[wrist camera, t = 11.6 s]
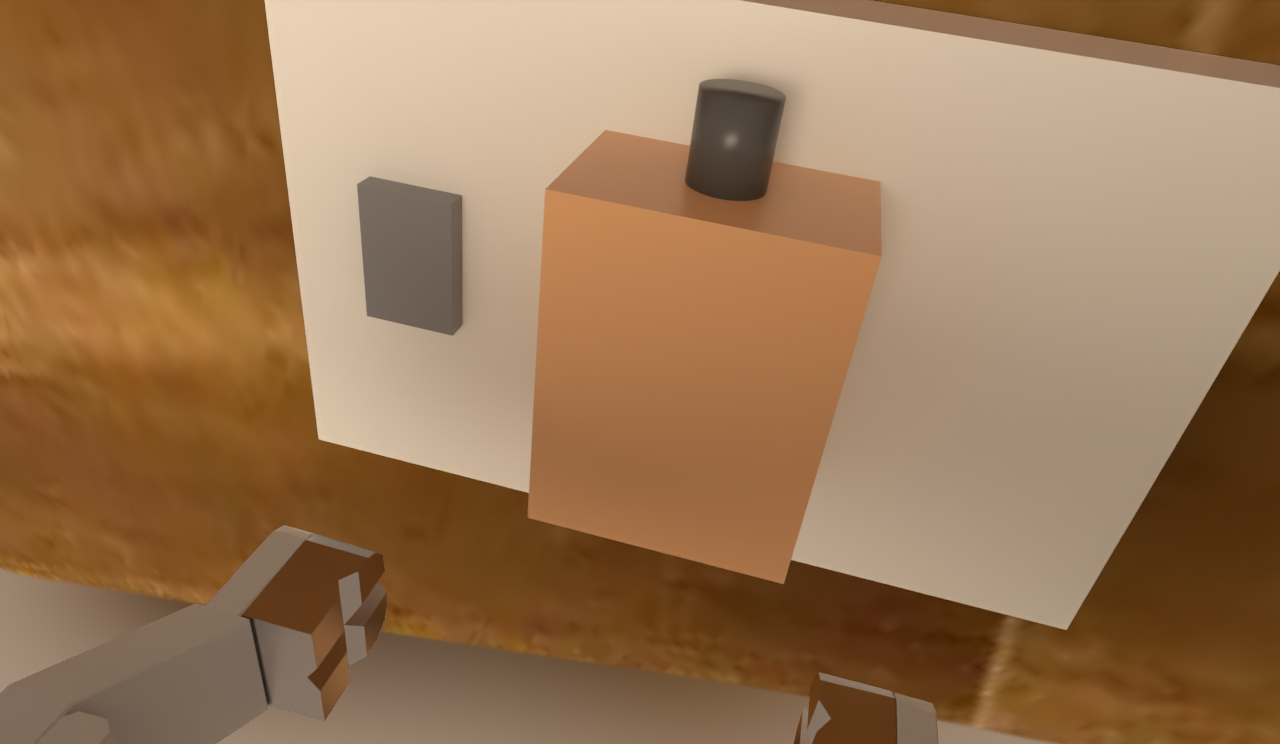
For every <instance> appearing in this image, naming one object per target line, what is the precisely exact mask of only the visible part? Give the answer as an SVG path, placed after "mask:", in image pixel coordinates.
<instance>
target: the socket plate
mask: <svg viewBox="0 0 1280 744" xmlns="http://www.w3.org/2000/svg"><path fill="white" fill-rule="evenodd" d="M265 8H266V16H267V24H268V32H269V40H270V48H271V56H272V65H273V73H274V81H275V89H276V97H277V105H278V113H279V121H280V129H281V138H282V146H283V154H284V162H285V170H286V178H287V186H288V194H289V202H290V211H291V219H292V227H293V235H294V243H295V251H296V259H297V267H298V275H299V284H300V292H301V300H302V308H303V316H304V324H305V332H306V340H307V348H308V356H309V365H310V373H311V381H312V389H313V397H314V405H315V413H316V421H317V429H318V438H319V439H320V440H324V441H328V442H331V443H335V444H339V445H343V446H347V447H351V448H355V449H359V450H363V451H367V452H371V453H375V454H378V455H382V456H386V457H390V458H394V459H398V460H402V461H406V462H410V463H414V464H418V465H422V466H425V467H429V468H433V469H437V470H441V471H445V472H449V473H453V474H457V475H461V476H465V477H469V478H473V479H476V480H480V481H484V482H488V483H492V484H496V485H500V486H504V487H508V488H512V489H516V490H520V491H523V492H527V493H529V482H530V463H531V445H532V426H533V408H534V389H535V370H536V352H537V333H538V315H539V296H540V278H541V259H542V240H543V222H544V203H545V189H546V188H547V187H548V186H549V185H550V184H551V183H552V182H553V181H554V180H555V179H556V178H557V177H558V176H559V175H560V174H561V173H562V172H563V171H564V170H565V169H566V168H567V167H568V166H569V165H570V164H571V163H572V162H573V161H574V160H575V159H576V158H577V157H578V156H579V155H580V154H581V153H582V152H583V151H584V150H585V149H586V148H587V147H588V146H589V145H590V144H591V143H592V142H593V141H594V140H595V139H597V138H598V137H599V136H600V135H601V134H602V133H603V132H604V131H605V130H609V131H615V132H620V133H625V134H631V135H636V136H641V137H646V138H652V139H657V140H662V141H668V142H673V143H678V144H684V145H689V146H690V143H691V136H692V129H693V122H694V116H695V109H696V102H697V96H698V89H699V84H700V83H701V82H702V81H705V80H710V79H734V80H743V81H749V82H754V83H758V84H762V85H766V86H769V87H772V88H774V89H777V90H779V91H780V92H782V93H783V94H784V95H785V96H786V100H785V105H784V110H783V115H782V120H781V125H780V129H779V134H778V139H777V144H776V149H775V154H774V159H773V161H774V162H779V163H784V164H790V165H795V166H800V167H805V168H811V169H816V170H821V171H827V172H832V173H837V174H843V175H848V176H853V177H858V178H864V179H869V180H874V181H880V188H881V243H882V258H881V261H880V264H879V268H878V271H877V274H876V278H875V281H874V284H873V288H872V291H871V294H870V298H869V301H868V304H867V308H866V311H865V314H864V318H863V321H862V324H861V328H860V331H859V334H858V338H857V341H856V344H855V348H854V351H853V354H852V358H851V361H850V364H849V368H848V371H847V374H846V378H845V381H844V384H843V388H842V391H841V394H840V398H839V401H838V404H837V408H836V411H835V414H834V418H833V421H832V424H831V428H830V431H829V434H828V438H827V441H826V445H825V448H824V451H823V455H822V458H821V461H820V465H819V468H818V471H817V475H816V478H815V481H814V485H813V488H812V491H811V495H810V498H809V501H808V505H807V508H806V511H805V515H804V518H803V521H802V525H801V528H800V531H799V535H798V538H797V541H796V545H795V548H794V551H793V555H792V558H791V560H794V561H798V562H802V563H806V564H810V565H813V566H817V567H821V568H825V569H829V570H833V571H837V572H841V573H845V574H849V575H853V576H857V577H860V578H864V579H868V580H872V581H876V582H880V583H884V584H888V585H892V586H896V587H900V588H904V589H908V590H911V591H915V592H919V593H923V594H927V595H931V596H935V597H939V598H943V599H947V600H951V601H955V602H958V603H962V604H966V605H970V606H974V607H978V608H982V609H986V610H990V611H994V612H998V613H1002V614H1005V615H1009V616H1013V617H1017V618H1021V619H1025V620H1029V621H1033V622H1037V623H1041V624H1045V625H1049V626H1053V627H1056V628H1060V629H1064V630H1067V628H1068V627H1069V625H1070V623H1071V622H1072V620H1073V618H1074V617H1075V615H1076V613H1077V611H1078V610H1079V608H1080V606H1081V605H1082V603H1083V601H1084V600H1085V598H1086V596H1087V595H1088V593H1089V591H1090V590H1091V588H1092V586H1093V584H1094V583H1095V581H1096V579H1097V578H1098V576H1099V574H1100V573H1101V571H1102V569H1103V568H1104V566H1105V564H1106V563H1107V561H1108V559H1109V558H1110V556H1111V554H1112V552H1113V551H1114V549H1115V547H1116V546H1117V544H1118V542H1119V541H1120V539H1121V537H1122V536H1123V534H1124V532H1125V531H1126V529H1127V527H1128V525H1129V524H1130V522H1131V520H1132V519H1133V517H1134V515H1135V514H1136V512H1137V510H1138V509H1139V507H1140V505H1141V504H1142V502H1143V500H1144V498H1145V497H1146V495H1147V493H1148V492H1149V490H1150V488H1151V487H1152V485H1153V483H1154V482H1155V480H1156V478H1157V477H1158V475H1159V473H1160V472H1161V470H1162V468H1163V466H1164V465H1165V463H1166V461H1167V460H1168V458H1169V456H1170V455H1171V453H1172V451H1173V450H1174V448H1175V446H1176V445H1177V443H1178V441H1179V439H1180V438H1181V436H1182V434H1183V433H1184V431H1185V429H1186V428H1187V426H1188V424H1189V423H1190V421H1191V419H1192V418H1193V416H1194V414H1195V413H1196V411H1197V409H1198V407H1199V406H1200V404H1201V402H1202V401H1203V399H1204V397H1205V396H1206V394H1207V392H1208V391H1209V389H1210V387H1211V386H1212V384H1213V382H1214V380H1215V379H1216V377H1217V375H1218V374H1219V372H1220V370H1221V369H1222V367H1223V365H1224V364H1225V362H1226V360H1227V359H1228V357H1229V355H1230V354H1231V352H1232V350H1233V348H1234V347H1235V345H1236V343H1237V342H1238V340H1239V338H1240V337H1241V335H1242V333H1243V332H1244V330H1245V328H1246V327H1247V325H1248V323H1249V321H1250V320H1251V318H1252V316H1253V315H1254V313H1255V311H1256V310H1257V308H1258V306H1259V305H1260V303H1261V301H1262V300H1263V298H1264V296H1265V294H1266V293H1267V291H1268V289H1269V288H1270V286H1271V284H1272V283H1273V281H1274V279H1275V278H1276V276H1277V274H1278V273H1279V271H1280V65H1275V64H1269V63H1262V62H1256V61H1250V60H1244V59H1237V58H1231V57H1225V56H1218V55H1212V54H1206V53H1200V52H1193V51H1187V50H1181V49H1174V48H1168V47H1162V46H1156V45H1149V44H1143V43H1137V42H1130V41H1124V40H1118V39H1112V38H1105V37H1099V36H1093V35H1086V34H1080V33H1074V32H1068V31H1061V30H1055V29H1049V28H1042V27H1036V26H1030V25H1024V24H1017V23H1011V22H1005V21H998V20H992V19H986V18H980V17H973V16H967V15H961V14H954V13H948V12H942V11H936V10H929V9H923V8H917V7H910V6H904V5H898V4H892V3H885V2H879V1H873V0H265Z"/></svg>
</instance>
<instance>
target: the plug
mask: <svg viewBox="0 0 1280 744" xmlns="http://www.w3.org/2000/svg"><path fill="white" fill-rule="evenodd" d="M785 100H786V96H785V95H784V94H783V93H782V92H780V91H779V90H777V89H774V88H772V87H769V86H766V85H762V84H758V83H754V82H749V81H743V80H734V79H710V80H705V81H702V82H701V83H700V84H699V89H698V96H697V102H696V109H695V116H694V122H693V129H692V136H691V143H690V146H689V145H684V144H678V143H673V142H668V141H662V140H657V139H652V138H646V137H641V136H636V135H631V134H625V133H620V132H615V131H609V130H605V131H604V132H603V133H602V134H601V135H600V136H599V137H598V138H597V139H595V140H594V141H593V142H592V143H591V144H590V145H589V146H588V147H587V148H586V149H585V150H584V151H583V152H582V153H581V154H580V155H579V156H578V157H577V158H576V159H575V160H574V161H573V162H572V163H571V164H570V165H569V166H568V167H567V168H566V169H565V170H564V171H563V172H562V173H561V174H560V175H559V176H558V177H557V178H556V179H555V180H554V181H553V182H552V183H551V184H550V185H549V186H548V187H547V188H546V189H545V203H544V222H543V240H542V259H541V278H540V296H539V315H538V333H537V352H536V370H535V389H534V408H533V426H532V445H531V463H530V482H529V500H528V518H531V519H535V520H538V521H542V522H546V523H550V524H554V525H558V526H561V527H565V528H569V529H573V530H577V531H581V532H585V533H588V534H592V535H596V536H600V537H604V538H608V539H612V540H615V541H619V542H623V543H627V544H631V545H635V546H639V547H642V548H646V549H650V550H654V551H658V552H662V553H666V554H669V555H673V556H677V557H681V558H685V559H689V560H693V561H696V562H700V563H704V564H708V565H712V566H716V567H720V568H723V569H727V570H731V571H735V572H739V573H743V574H746V575H750V576H754V577H758V578H762V579H766V580H770V581H773V582H777V583H781V584H784V581H785V578H786V575H787V571H788V568H789V565H790V561H791V558H792V555H793V551H794V548H795V545H796V541H797V538H798V535H799V531H800V528H801V525H802V521H803V518H804V515H805V511H806V508H807V505H808V501H809V498H810V495H811V491H812V488H813V485H814V481H815V478H816V475H817V471H818V468H819V465H820V461H821V458H822V455H823V451H824V448H825V445H826V441H827V438H828V434H829V431H830V428H831V424H832V421H833V418H834V414H835V411H836V408H837V404H838V401H839V398H840V394H841V391H842V388H843V384H844V381H845V378H846V374H847V371H848V368H849V364H850V361H851V358H852V354H853V351H854V348H855V344H856V341H857V338H858V334H859V331H860V328H861V324H862V321H863V318H864V314H865V311H866V308H867V304H868V301H869V298H870V294H871V291H872V288H873V284H874V281H875V278H876V274H877V271H878V268H879V264H880V261H881V258H882V243H881V188H880V181H874V180H869V179H864V178H858V177H853V176H848V175H843V174H837V173H832V172H827V171H821V170H816V169H811V168H805V167H800V166H795V165H790V164H784V163H779V162H774V161H773V159H774V154H775V149H776V144H777V139H778V134H779V129H780V125H781V120H782V115H783V110H784V105H785Z"/></svg>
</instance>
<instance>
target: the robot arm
mask: <svg viewBox="0 0 1280 744" xmlns="http://www.w3.org/2000/svg"><path fill="white" fill-rule="evenodd" d="M384 572H385V569H384V561H383V555H382V554H379V553H376V552H373V551H370V550H366V549H363V548H360V547H357V546H353V545H350V544H347V543H343V542H340V541H337V540H334V539H330V538H327V537H324V536H320V535H317V534H313V533H310V532H306V531H303V530H299V529H296V528H292V527H289V526H285V525H284V526H282V527H280V528H278V529H276V530H275V531H273V532H272V533H271V534H270V535H269V536H268V537H267V538H266V539H265V541H264V542H263V543H262V544H261V545H260V546H259V547H258V548H257V549H256V550H255V552H254V553H253V554H252V555H251V556H250V557H249V558H248V559H247V560H246V561H245V562H244V564H243V565H242V566H241V567H240V568H239V569H238V570H237V571H236V572H235V573H234V575H233V576H232V577H231V578H230V579H229V580H228V581H227V582H226V583H225V584H224V586H223V587H222V588H221V589H220V590H219V591H218V592H217V593H216V594H215V595H214V597H213V598H212V599H211V600H210V601H209V602H208V603H207V604H206V605H205V606H204V605H200V604H196V603H195V604H193V605H191V606H189V607H186V608H184V609H182V610H180V611H177V612H175V613H173V614H170V615H168V616H166V617H163V618H161V619H159V620H156V621H154V622H152V623H150V624H148V625H145V626H143V627H141V628H138V629H136V630H134V631H131V632H129V633H127V634H124V635H122V636H120V637H117V638H115V639H113V640H111V641H108V642H106V643H104V644H102V645H99V646H97V647H95V648H92V649H90V650H88V651H85V652H83V653H81V654H79V655H76V656H74V657H72V658H69V659H67V660H65V661H62V662H60V663H58V664H56V665H53V666H51V667H49V668H46V669H44V670H42V671H40V672H37V673H35V674H33V675H30V676H28V677H26V678H23V679H21V680H19V681H17V682H14V683H12V684H10V685H9V686H7V687H6V689H4V690H3V691H2V692H1V693H0V744H216V743H218V742H219V741H221V740H223V739H224V738H226V737H227V736H229V735H230V734H232V733H233V732H235V731H236V730H237V729H239V728H241V727H242V726H244V725H245V724H247V723H248V722H250V721H252V720H253V719H255V718H256V717H258V716H259V715H261V714H262V713H264V712H265V711H267V710H268V706H272V707H275V708H279V709H282V710H286V711H289V712H293V713H297V714H301V715H304V716H308V717H311V718H315V719H318V720H322V721H325V720H326V719H327V717H328V715H329V714H330V712H331V711H332V709H333V708H334V706H335V704H336V703H337V702H338V700H339V699H340V697H341V695H342V694H343V692H344V691H345V689H346V688H347V686H348V685H349V683H350V674H349V665H351V664H353V663H355V662H357V661H359V660H361V659H362V658H364V657H366V656H367V655H368V654H369V652H370V650H371V649H372V647H373V645H374V644H375V642H376V641H377V639H378V636H379V633H380V631H381V628H382V626H383V623H384V621H385V615H386V609H387V594H386V592H385V590H384V589H383V588H382V586H381V585H380V584H379V583H378V580H379V579H380V577H381V576H382V575H383V573H384ZM794 744H938V732H937V719H936V710H935V708H934V706H933V704H932V703H930V702H926V701H923V700H919V699H916V698H912V697H908V696H905V695H901V694H897V693H892V692H891V691H889V690H885V689H881V688H878V687H874V686H870V685H866V684H862V683H858V682H854V681H851V680H847V679H843V678H839V677H835V676H831V675H827V674H824V673H820V672H818V674H817V675H816V676H815V678H814V681H813V684H812V686H811V689H810V701H809V707H808V708H806V709H804V710H803V712H802V714H801V717H800V721H799V724H798V727H797V731H796V736H795V740H794Z"/></svg>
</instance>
